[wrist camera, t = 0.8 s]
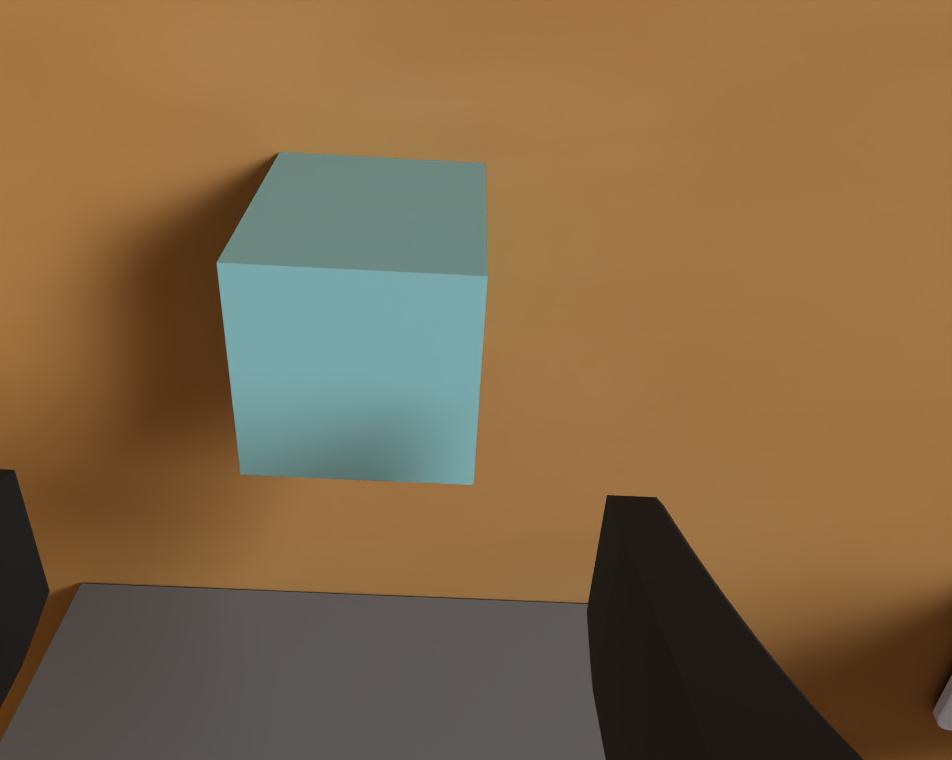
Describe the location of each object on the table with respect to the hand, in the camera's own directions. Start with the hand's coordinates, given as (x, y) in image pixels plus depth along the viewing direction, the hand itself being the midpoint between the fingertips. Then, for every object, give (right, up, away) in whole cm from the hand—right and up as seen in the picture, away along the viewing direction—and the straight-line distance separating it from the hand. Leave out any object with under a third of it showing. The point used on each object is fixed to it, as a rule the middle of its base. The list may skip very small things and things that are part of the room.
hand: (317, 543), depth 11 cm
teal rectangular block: (0, +5, +7) cm, 9 cm away
